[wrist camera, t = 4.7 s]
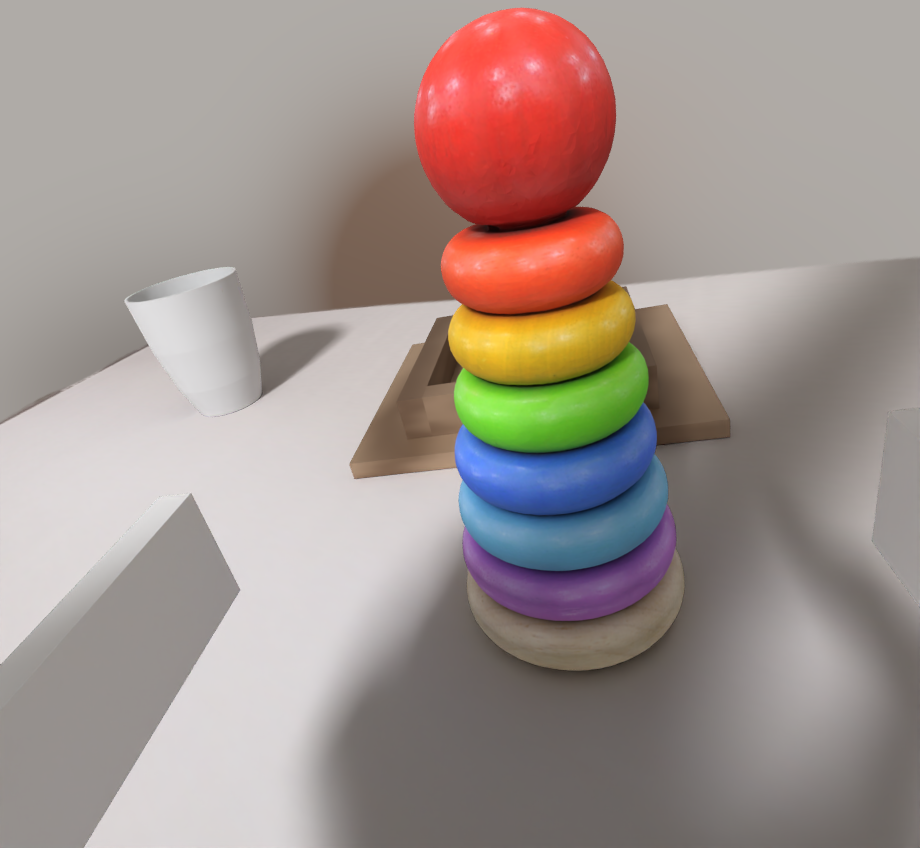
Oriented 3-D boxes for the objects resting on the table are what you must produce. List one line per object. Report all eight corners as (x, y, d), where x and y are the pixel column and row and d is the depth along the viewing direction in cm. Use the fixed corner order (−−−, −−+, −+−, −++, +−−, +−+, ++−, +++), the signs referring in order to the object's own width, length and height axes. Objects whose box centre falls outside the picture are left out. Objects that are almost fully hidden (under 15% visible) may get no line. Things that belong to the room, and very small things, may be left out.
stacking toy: (490, 709, 19) (296, 33, 11) (461, 553, 26) (330, 70, 18) (728, 650, 19) (722, -70, 11) (636, 510, 26) (587, 8, 18)
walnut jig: (667, 317, 45) (665, 271, 44) (729, 436, 30) (729, 373, 28) (415, 356, 50) (404, 315, 48) (354, 478, 34) (335, 425, 33)
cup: (244, 376, 55) (199, 268, 50) (300, 384, 50) (256, 265, 45) (163, 419, 49) (105, 302, 45) (217, 433, 44) (157, 303, 40)
